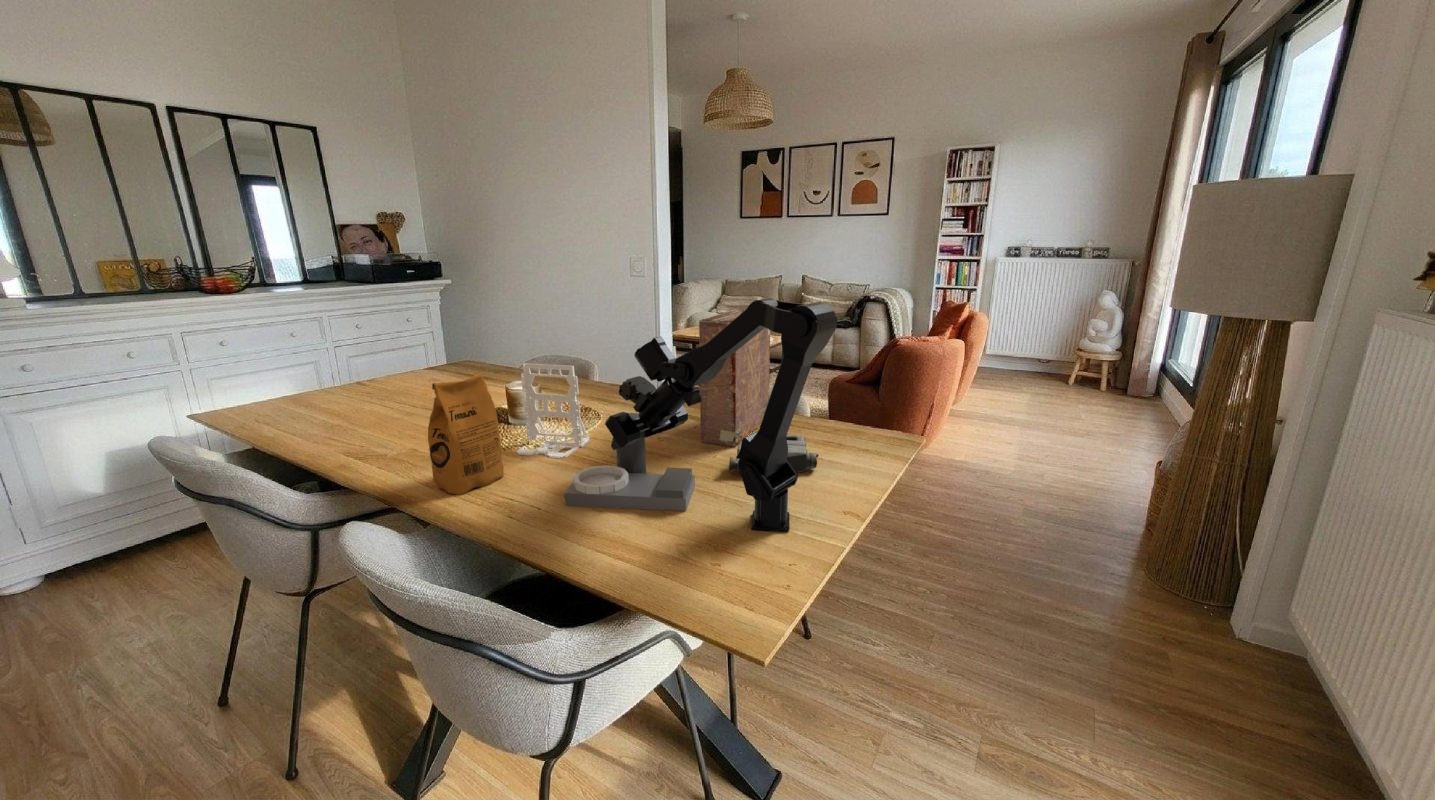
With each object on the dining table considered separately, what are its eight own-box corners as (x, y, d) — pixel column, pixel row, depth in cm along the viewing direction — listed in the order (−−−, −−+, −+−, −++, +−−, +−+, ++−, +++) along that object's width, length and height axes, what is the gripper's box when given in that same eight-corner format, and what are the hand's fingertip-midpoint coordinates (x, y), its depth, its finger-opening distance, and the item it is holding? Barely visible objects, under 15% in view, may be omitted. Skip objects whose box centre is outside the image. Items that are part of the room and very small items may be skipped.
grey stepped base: (686, 511, 104) (685, 491, 103) (565, 505, 106) (563, 485, 105) (694, 486, 114) (694, 468, 113) (584, 482, 117) (582, 464, 116)
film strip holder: (510, 454, 132) (501, 370, 127) (541, 435, 145) (534, 358, 140) (567, 459, 129) (559, 373, 124) (593, 439, 142) (588, 361, 136)
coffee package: (427, 487, 115) (411, 381, 109) (483, 467, 125) (470, 369, 119) (455, 499, 109) (439, 388, 103) (510, 477, 119) (499, 375, 113)
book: (738, 414, 162) (738, 308, 153) (769, 418, 158) (771, 309, 150) (700, 442, 139) (698, 320, 131) (735, 447, 136) (735, 322, 127)
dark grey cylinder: (643, 482, 116) (640, 422, 113) (613, 481, 117) (609, 421, 113) (649, 470, 122) (647, 413, 119) (621, 469, 123) (618, 412, 119)
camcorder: (824, 474, 121) (826, 451, 119) (729, 480, 117) (730, 456, 116) (801, 448, 136) (802, 427, 135) (717, 453, 133) (717, 432, 132)
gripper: (676, 358, 117) (639, 400, 127) (609, 375, 103) (573, 421, 112) (706, 401, 115) (667, 441, 124) (642, 424, 101) (603, 467, 110)
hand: (629, 441), depth 118 cm, fingers open, 9 cm apart
